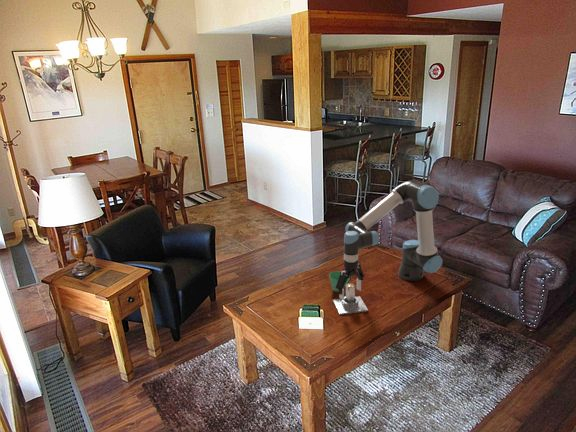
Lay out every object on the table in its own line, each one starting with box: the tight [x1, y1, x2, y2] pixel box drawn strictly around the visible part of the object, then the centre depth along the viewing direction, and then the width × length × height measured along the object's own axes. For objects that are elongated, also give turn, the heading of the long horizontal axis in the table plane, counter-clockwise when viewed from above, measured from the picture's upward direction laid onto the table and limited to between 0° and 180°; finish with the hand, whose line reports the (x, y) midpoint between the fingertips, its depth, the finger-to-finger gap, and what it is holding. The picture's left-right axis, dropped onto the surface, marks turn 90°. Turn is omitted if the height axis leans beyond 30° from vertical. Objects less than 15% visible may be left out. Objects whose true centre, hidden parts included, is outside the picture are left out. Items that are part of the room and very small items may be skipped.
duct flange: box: [332, 295, 369, 316], centre depth 223 cm, size 16×14×4 cm
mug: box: [328, 270, 352, 293], centre depth 239 cm, size 15×10×10 cm
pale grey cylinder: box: [345, 283, 356, 304], centre depth 221 cm, size 5×5×12 cm
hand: (350, 294), depth 221 cm, fingers open, 13 cm apart
